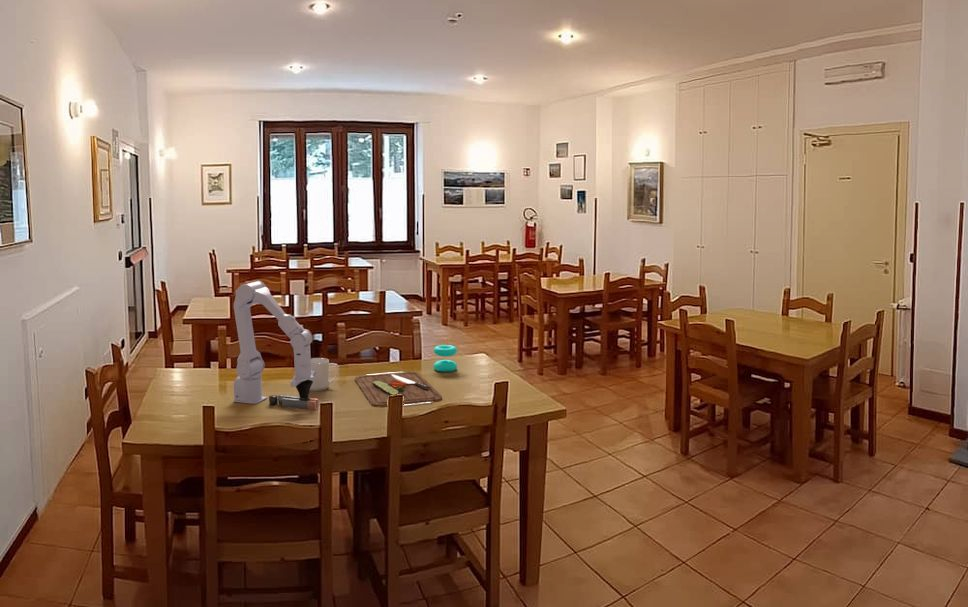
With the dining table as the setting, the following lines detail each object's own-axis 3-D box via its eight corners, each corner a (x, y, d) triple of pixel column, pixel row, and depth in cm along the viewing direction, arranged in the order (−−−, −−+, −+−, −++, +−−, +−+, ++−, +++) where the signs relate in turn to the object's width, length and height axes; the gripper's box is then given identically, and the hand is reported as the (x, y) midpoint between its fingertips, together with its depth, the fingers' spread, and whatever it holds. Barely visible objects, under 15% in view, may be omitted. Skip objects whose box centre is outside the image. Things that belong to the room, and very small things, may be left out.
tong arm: (277, 404, 272) (276, 396, 271) (280, 402, 274) (280, 394, 274) (316, 408, 268) (316, 400, 267) (319, 406, 270) (319, 398, 269)
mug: (305, 392, 288) (304, 363, 286) (307, 385, 297) (306, 358, 295) (337, 390, 290) (336, 362, 288) (337, 384, 299) (337, 357, 297)
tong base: (267, 405, 272) (267, 397, 271) (272, 402, 275) (271, 394, 274) (315, 410, 267) (314, 402, 266) (319, 407, 270) (318, 399, 269)
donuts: (458, 349, 317) (435, 350, 315) (458, 372, 319) (435, 373, 317) (455, 343, 327) (432, 344, 325) (455, 366, 328) (432, 367, 327)
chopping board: (352, 377, 310) (352, 370, 310) (415, 372, 319) (415, 365, 319) (374, 410, 268) (374, 402, 268) (446, 403, 277) (446, 395, 277)
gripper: (302, 370, 261) (304, 407, 264) (322, 360, 275) (323, 395, 277) (284, 368, 263) (286, 405, 265) (305, 358, 277) (306, 394, 279)
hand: (304, 400), depth 272 cm, fingers closed
